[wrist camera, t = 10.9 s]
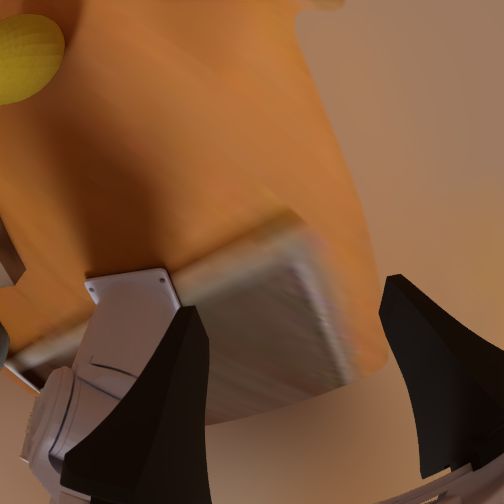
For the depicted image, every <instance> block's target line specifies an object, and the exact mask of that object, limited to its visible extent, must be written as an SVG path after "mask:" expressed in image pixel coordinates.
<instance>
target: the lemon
mask: <svg viewBox="0 0 504 504" xmlns="http://www.w3.org/2000/svg"><path fill="white" fill-rule="evenodd" d="M64 49H65V42H64V36H63V34H62V31H61V29H60V28H59V26H58V25H57V24H56V23H55V22H54V21H52V20H51V19H49V18H47V17H45V16H42V15H38V14H20V15H16V16H12V17H9V18H7V19H4V20H1V21H0V105H6V104H12V103H15V102H19V101H22V100H25V99H27V98H29V97H30V96H32V95H34V94H35V93H37V92H39V91H40V90H41V89H42V88H43V87H44V86H46V85H47V84H48V83H49V82H50V81H51V79H52V78H53V77H54V75H55V74H56V73H57V71H58V69H59V67H60V65H61V62H62V59H63V56H64Z"/></svg>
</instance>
